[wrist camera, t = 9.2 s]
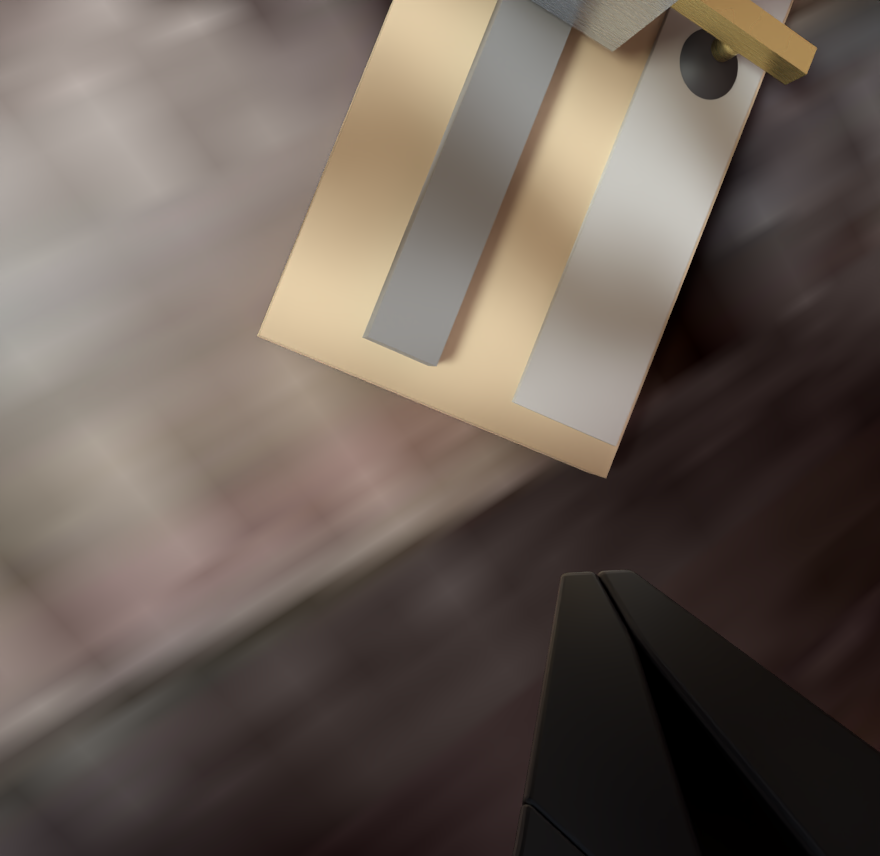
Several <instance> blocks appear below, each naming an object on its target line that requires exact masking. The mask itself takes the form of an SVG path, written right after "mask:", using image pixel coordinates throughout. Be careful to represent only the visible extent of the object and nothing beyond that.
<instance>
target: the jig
mask: <svg viewBox="0 0 880 856" xmlns="http://www.w3.org/2000/svg"><path fill="white" fill-rule="evenodd" d="M751 1H752V2H754V3H755V4H756V5H758V6H759V7H760V8H762V9H763V10H765V11H766V12H767V13H769V14H770V15H772V16H773V17H774V18H776V19H777V20H779V21H780V22H781V23H783V24H785V22H786V19H787V17H788V14H789V12H790V9H791V6H792V4H793V1H794V0H751ZM715 39H716V38H715V37H714V36H713V35H711V34H710V33H708V32H707V31H705V30H704V29H702V28H701V27H699V26H698V25H696V24H695V23H693V22H692V21H690V20H689V19H688V18H686V17H685V16H683V15H682V14H680V13H679V12H677V11H676V10H674V9H673V8H671V7H669V8H668V9H667V10H665V11H664V12H663V13H662V14H660V15H659V16H658V17H656V18H655V19H654V20H653V21H651V22H650V23H649V24H648V25H646V26H645V27H644V28H642V29H641V30H640V31H639V32H637V33H636V34H635V35H634V36H632V37H631V38H630V39H629V40H627V41H626V42H625V43H623V44H622V45H621V46H620V47H618V48H617V49H616V50H615V51H613V52H612V51H610V50H609V49H607V48H605V47H604V46H602V45H601V44H599V43H598V42H596V41H594V40H593V39H591V38H590V37H588V36H587V35H585V34H583V33H582V32H580V31H579V30H577V29H576V28H574V27H572V26H571V25H569V24H568V23H566V22H565V21H563V20H561V19H560V18H558V17H557V16H555V15H554V14H552V13H550V12H549V11H547V10H546V9H544V8H543V7H541V6H539V5H538V4H536V3H535V2H533V1H532V0H393V1H392V3H391V6H390V8H389V11H388V13H387V16H386V18H385V21H384V23H383V26H382V28H381V31H380V33H379V36H378V38H377V41H376V43H375V46H374V48H373V51H372V53H371V55H370V58H369V60H368V63H367V65H366V68H365V70H364V73H363V75H362V78H361V80H360V83H359V85H358V88H357V90H356V93H355V95H354V98H353V100H352V103H351V105H350V108H349V110H348V112H347V115H346V117H345V120H344V122H343V125H342V127H341V130H340V132H339V135H338V137H337V140H336V142H335V145H334V147H333V150H332V152H331V155H330V157H329V160H328V162H327V164H326V167H325V169H324V172H323V174H322V177H321V179H320V182H319V184H318V187H317V189H316V192H315V194H314V197H313V199H312V202H311V204H310V207H309V209H308V212H307V214H306V216H305V219H304V221H303V224H302V226H301V229H300V231H299V234H298V236H297V239H296V241H295V244H294V246H293V249H292V251H291V254H290V256H289V259H288V261H287V264H286V266H285V268H284V271H283V273H282V276H281V278H280V281H279V283H278V286H277V288H276V291H275V293H274V296H273V298H272V301H271V303H270V306H269V308H268V311H267V313H266V316H265V318H264V321H263V323H262V325H261V328H260V330H259V333H258V335H257V336H258V337H260V338H263V339H265V340H267V341H270V342H272V343H275V344H277V345H280V346H282V347H284V348H287V349H289V350H292V351H294V352H296V353H299V354H301V355H304V356H306V357H309V358H311V359H313V360H316V361H318V362H321V363H323V364H326V365H328V366H330V367H333V368H335V369H338V370H340V371H343V372H345V373H347V374H350V375H352V376H355V377H357V378H360V379H362V380H364V381H367V382H369V383H372V384H374V385H377V386H379V387H381V388H384V389H386V390H389V391H391V392H394V393H396V394H398V395H401V396H403V397H406V398H408V399H411V400H413V401H415V402H418V403H420V404H423V405H425V406H427V407H430V408H432V409H435V410H437V411H440V412H442V413H444V414H447V415H449V416H452V417H454V418H457V419H459V420H461V421H464V422H466V423H469V424H471V425H474V426H476V427H478V428H481V429H483V430H486V431H488V432H491V433H493V434H495V435H498V436H500V437H503V438H505V439H508V440H510V441H512V442H515V443H517V444H520V445H522V446H525V447H527V448H529V449H532V450H534V451H537V452H539V453H542V454H544V455H546V456H549V457H551V458H554V459H556V460H559V461H561V462H563V463H566V464H568V465H571V466H573V467H575V468H578V469H580V470H583V471H585V472H588V473H591V474H594V475H597V476H600V477H603V478H606V477H607V475H608V472H609V469H610V467H611V464H612V462H613V459H614V457H615V454H616V452H617V449H618V447H619V444H620V441H621V439H622V436H623V434H624V431H625V429H626V426H627V424H628V421H629V419H630V416H631V413H632V411H633V408H634V406H635V403H636V401H637V398H638V396H639V393H640V391H641V388H642V385H643V383H644V380H645V378H646V375H647V373H648V370H649V368H650V365H651V363H652V360H653V358H654V355H655V352H656V350H657V347H658V345H659V342H660V340H661V337H662V335H663V332H664V330H665V327H666V324H667V322H668V319H669V317H670V314H671V312H672V309H673V307H674V304H675V302H676V299H677V296H678V294H679V291H680V289H681V286H682V284H683V281H684V279H685V276H686V274H687V271H688V268H689V266H690V263H691V261H692V258H693V256H694V253H695V251H696V248H697V246H698V243H699V240H700V238H701V235H702V233H703V230H704V228H705V225H706V223H707V220H708V218H709V215H710V213H711V210H712V207H713V205H714V202H715V200H716V197H717V195H718V192H719V190H720V187H721V185H722V182H723V179H724V177H725V174H726V172H727V169H728V167H729V164H730V162H731V159H732V157H733V154H734V151H735V149H736V146H737V144H738V141H739V139H740V136H741V134H742V131H743V129H744V126H745V123H746V121H747V118H748V116H749V113H750V111H751V108H752V106H753V103H754V101H755V98H756V95H757V93H758V90H759V88H760V85H761V83H762V80H763V78H764V75H765V73H766V72H765V71H764V70H762V69H761V68H759V67H758V66H757V65H755V64H754V63H752V62H751V61H749V60H748V59H746V58H745V57H743V56H742V55H740V54H737V55H736V56H734V57H732V58H731V59H729V60H727V61H725V62H719V61H717V60H716V59H715V58H714V57H713V55H712V52H711V46H712V43H713V41H714V40H715Z"/></svg>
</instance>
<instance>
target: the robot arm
mask: <svg viewBox="0 0 880 856" xmlns="http://www.w3.org/2000/svg"><path fill="white" fill-rule="evenodd" d="M512 856H880V752H879V751H877V750H876V749H874V748H873V747H872V746H870V745H869V744H868V743H866V742H865V741H864V740H862V739H861V738H859V737H858V736H857V735H855V734H854V733H853V732H851V731H850V730H849V729H847V728H846V727H845V726H843V725H842V724H840V723H839V722H838V721H836V720H835V719H834V718H832V717H831V716H830V715H828V714H827V713H825V712H824V711H823V710H821V709H820V708H819V707H817V706H816V705H815V704H813V703H812V702H811V701H809V700H808V699H806V698H805V697H804V696H802V695H801V694H800V693H798V692H797V691H796V690H794V689H793V688H791V687H790V686H789V685H787V684H786V683H785V682H783V681H782V680H781V679H779V678H778V677H776V676H775V675H774V674H772V673H771V672H770V671H768V670H767V669H766V668H764V667H763V666H762V665H760V664H759V663H757V662H756V661H755V660H753V659H752V658H751V657H749V656H748V655H747V654H745V653H744V652H742V651H741V650H740V649H738V648H737V647H736V646H734V645H733V644H732V643H730V642H729V641H728V640H726V639H725V638H723V637H722V636H721V635H719V634H718V633H717V632H715V631H714V630H713V629H711V628H710V627H708V626H707V625H706V624H704V623H703V622H702V621H700V620H699V619H698V618H696V617H695V616H694V615H692V614H691V613H689V612H688V611H687V610H685V609H684V608H683V607H681V606H680V605H679V604H677V603H676V602H674V601H673V600H672V599H670V598H669V597H668V596H666V595H665V594H664V593H662V592H661V591H659V590H658V589H657V588H655V587H654V586H653V585H651V584H650V583H649V582H647V581H646V580H645V579H643V578H642V577H640V576H639V575H638V574H636V573H635V572H633V571H631V570H612V571H601V572H600V573H598V574H597V575H596V574H595V573H593V572H574V573H565V574H563V575H562V576H561V578H560V583H559V589H558V595H557V601H556V607H555V612H554V618H553V624H552V630H551V636H550V642H549V648H548V654H547V660H546V666H545V671H544V677H543V683H542V689H541V695H540V701H539V707H538V713H537V719H536V725H535V730H534V736H533V742H532V748H531V754H530V760H529V766H528V772H527V778H526V784H525V789H524V795H523V803H522V807H521V810H520V816H519V822H518V828H517V833H516V839H515V845H514V850H513V855H512Z"/></svg>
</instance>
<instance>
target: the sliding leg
mask: <svg viewBox="0 0 880 856" xmlns="http://www.w3.org/2000/svg"><path fill="white" fill-rule="evenodd" d="M532 1H533V2H535V3H536V4H538V5H539V6H541V7H543V8H544V9H546V10H547V11H549V12H550V13H552V14H554V15H555V16H557V17H558V18H560V19H561V20H563V21H565V22H566V23H568V24H569V25H571V26H572V27H574V28H576V29H577V30H579V31H580V32H582V33H583V34H585V35H587V36H588V37H590V38H591V39H593V40H594V41H596V42H598V43H599V44H601V45H602V46H604V47H605V48H607V49H609V50H610V51H612V52H613V51H615V50H616V49H617V48H618V47H620V46H621V45H622V44H623V43H625V42H626V41H627V40H629V39H630V38H631V37H632V36H634V35H635V34H636V33H637V32H639V31H640V30H641V29H642V28H644V27H645V26H646V25H648V24H649V23H650V22H651V21H653V20H654V19H655V18H656V17H658V16H659V15H660V14H662V13H663V12H664V11H665V10H667V9H668V8H669V7H671V8H673V9H674V10H676V11H677V12H679V13H680V14H682V15H683V16H685V17H686V18H688V19H689V20H690V21H692V22H693V23H695V24H696V25H698V26H699V27H701V28H702V29H704V30H705V31H707V32H708V33H710V34H711V35H713V36H714V37H715V38H716V39H715V40H714V41H713V43H712V46H711V52H712V55H713V57H714V58H715V59H716V60H717V61H719V62H725V61H727V60H729V59H731V58H732V57H734V56H736V55H737V54H740V55H742V56H743V57H745V58H746V59H748V60H749V61H751V62H752V63H754V64H755V65H757V66H758V67H759V68H761V69H762V70H764V71H765V72H767V73H768V74H770V75H771V76H773V77H774V78H776V79H777V80H779V81H780V82H781V83H783V84H784V85H786V84H788V83H790V82H792V81H794V80H796V79H799V78H801V77H803V76H805V75H807V73H808V70H809V67H810V65H811V62H812V60H813V57H814V55H815V52H816V50H817V48H816V47H815V46H814V45H812V44H811V43H809V42H808V41H807V40H805V39H804V38H802V37H801V36H800V35H798V34H797V33H795V32H794V31H793V30H791V29H790V28H788V27H787V26H786V25H784V24H783V23H781V22H780V21H779V20H777V19H776V18H774V17H773V16H772V15H770V14H769V13H767V12H766V11H765V10H763V9H762V8H760V7H759V6H758V5H756V4H755V3H754V2H752V1H751V0H532Z"/></svg>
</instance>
